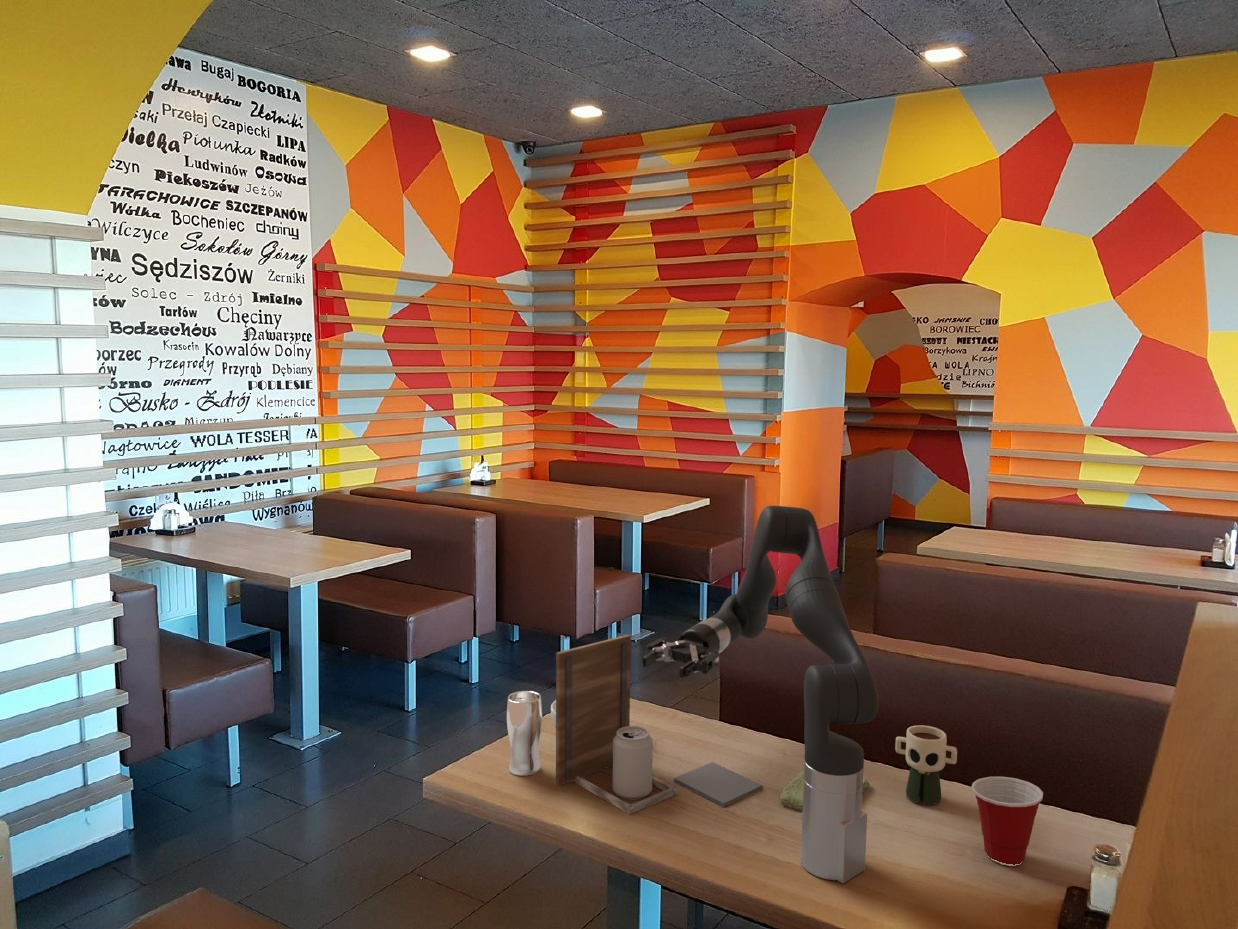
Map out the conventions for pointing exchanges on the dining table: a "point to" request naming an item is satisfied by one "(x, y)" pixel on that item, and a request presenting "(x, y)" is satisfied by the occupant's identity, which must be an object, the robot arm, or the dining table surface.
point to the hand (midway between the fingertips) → (662, 667)
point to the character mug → (925, 761)
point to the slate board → (718, 784)
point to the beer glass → (524, 731)
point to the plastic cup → (1006, 816)
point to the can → (632, 762)
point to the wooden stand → (595, 715)
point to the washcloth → (800, 792)
